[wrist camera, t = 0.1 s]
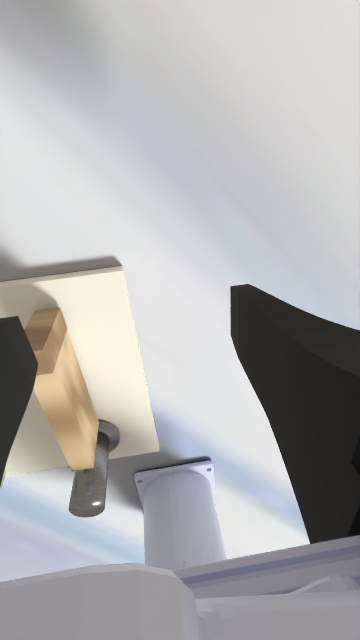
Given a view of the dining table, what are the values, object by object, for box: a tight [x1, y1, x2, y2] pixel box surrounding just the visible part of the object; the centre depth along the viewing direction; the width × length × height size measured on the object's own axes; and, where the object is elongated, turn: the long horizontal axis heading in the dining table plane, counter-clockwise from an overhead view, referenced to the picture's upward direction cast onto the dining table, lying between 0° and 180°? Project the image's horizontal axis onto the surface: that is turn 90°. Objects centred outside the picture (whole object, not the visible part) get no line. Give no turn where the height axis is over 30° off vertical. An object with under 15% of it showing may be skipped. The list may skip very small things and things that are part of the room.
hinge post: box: [69, 420, 120, 517], centre depth 25 cm, size 4×4×7 cm
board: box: [0, 266, 159, 477], centre depth 24 cm, size 18×22×1 cm
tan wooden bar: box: [24, 307, 99, 471], centre depth 21 cm, size 11×2×4 cm, turn 5°
